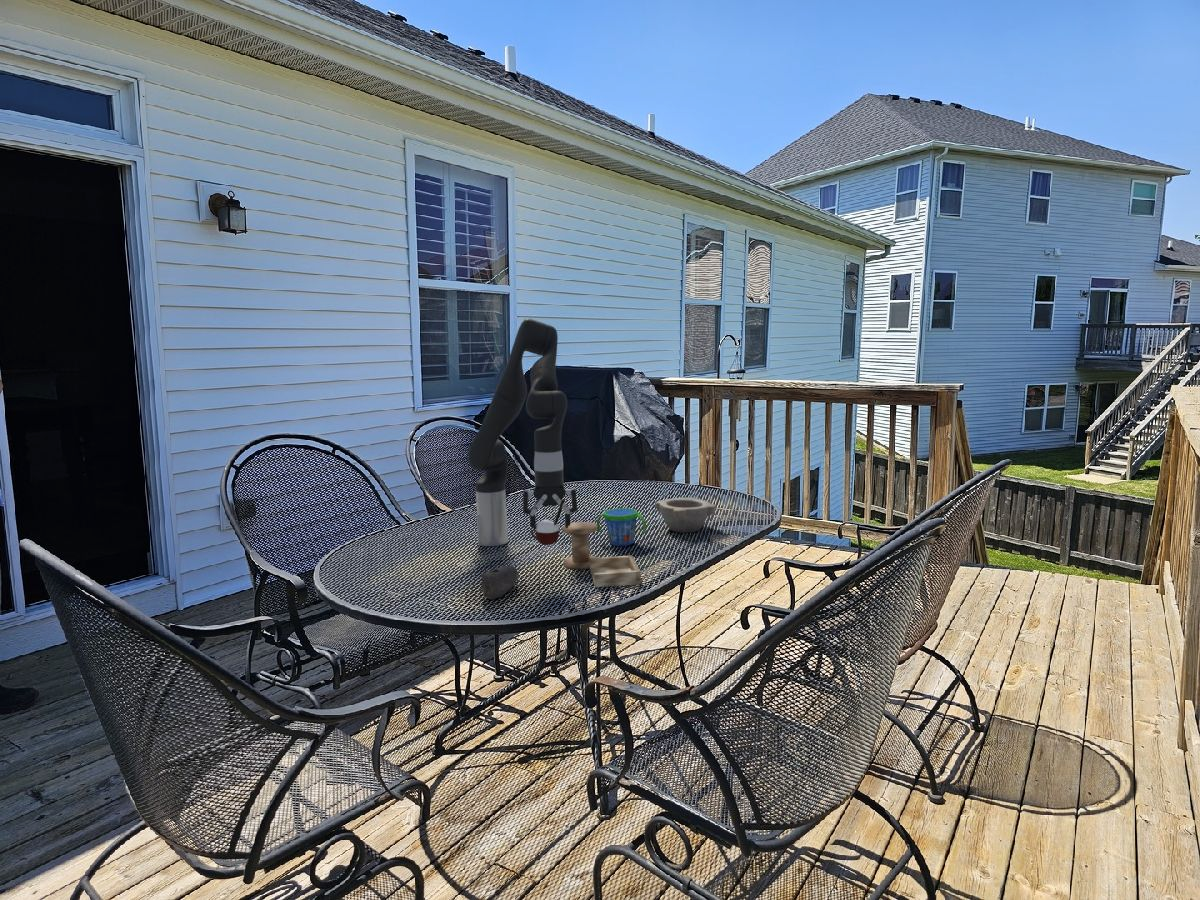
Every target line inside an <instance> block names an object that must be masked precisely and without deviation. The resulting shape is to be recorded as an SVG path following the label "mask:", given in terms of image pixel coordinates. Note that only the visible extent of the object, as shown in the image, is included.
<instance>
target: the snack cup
mask: <svg viewBox="0 0 1200 900" xmlns="http://www.w3.org/2000/svg"><path fill="white" fill-rule="evenodd" d="M602 517H603V518H604V521H605V525H606V530H607V536H608V541H609V543H610V544H611V545H612V546H614V547H627V546H630V545H632V544H634V542H635V536H636V535H635V534H636V527H637V526H636V525H637V518H638V519H640V520H641V522H642V525H643V526H642V534H643V535H645V534H646V531H647V522H646V520H645V518H644V516H643V515H642V514H640V513H639V512H638V511H637V510H636V509H634V508H628V507H626V508H624V507H621V508H620V507H619V508H610V509H607V510H605V511H604V512H603V513H601V514H600V515H599V516H598V518H597V519H596V524H597V533H600V532H601V526H600V520H601V519H602Z"/></svg>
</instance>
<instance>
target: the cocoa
mask: <svg viewBox="0 0 1200 900" xmlns="http://www.w3.org/2000/svg"><path fill="white" fill-rule="evenodd" d="M564 502H565V503H566V499H565V498H563V499H562V501H561V504H560V506H559V507H558V510H557V514H556V517H555V519H554V521H552V520H549V519H542V520H541V521H539V522H537V523H536V529H531V531H530V534H531V536H532V538H534V540H535V541H537V542H538V543H539V544H541V545H544V546H551V545H554V544H555V543H556V542H557V541H558V539H559V535H560V525H559V524H558V522H559V519H560V516H561V513H562V511H563V509H562V506H563V503H564ZM534 532H535V535H534Z"/></svg>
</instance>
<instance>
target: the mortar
mask: <svg viewBox="0 0 1200 900" xmlns="http://www.w3.org/2000/svg"><path fill="white" fill-rule="evenodd" d="M654 507H655V509H656V511H657V512H658V513H660V514H661V516H662V519H663V520H664V522H665V524H666V526H667V527H668V528H669V530H670V531H672V532H675V533H693V532H698V531H699V530H701V529H702V527H703V526H704V524H705V522H706V520H707V519H708V518H709V517H710V516H712V515H713V514H715V513H716V511H717V509H718V507H717V505H716V504H713V503H710V502H709V501H707V500H703V499H700V498H696V497H692V496H690V497H689V496H687V497H677V498H676V497H675V498H666V499H661V500H658V501H656V502H655V503H654Z"/></svg>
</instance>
